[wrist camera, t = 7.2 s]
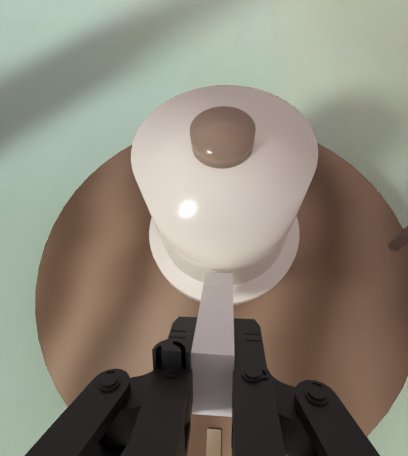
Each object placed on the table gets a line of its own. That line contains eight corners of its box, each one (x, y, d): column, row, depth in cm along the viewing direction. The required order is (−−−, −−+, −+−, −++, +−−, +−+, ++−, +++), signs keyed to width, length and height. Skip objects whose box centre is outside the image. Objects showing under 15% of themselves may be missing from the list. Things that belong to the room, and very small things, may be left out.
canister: (140, 300, 20) (70, 227, 11) (165, 177, 26) (131, 57, 16) (299, 312, 19) (370, 244, 10) (291, 182, 25) (333, 56, 15)
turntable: (-13, 461, 18) (-34, 468, 16) (94, 134, 31) (87, 122, 30) (471, 504, 16) (496, 516, 14) (363, 132, 29) (370, 119, 27)
